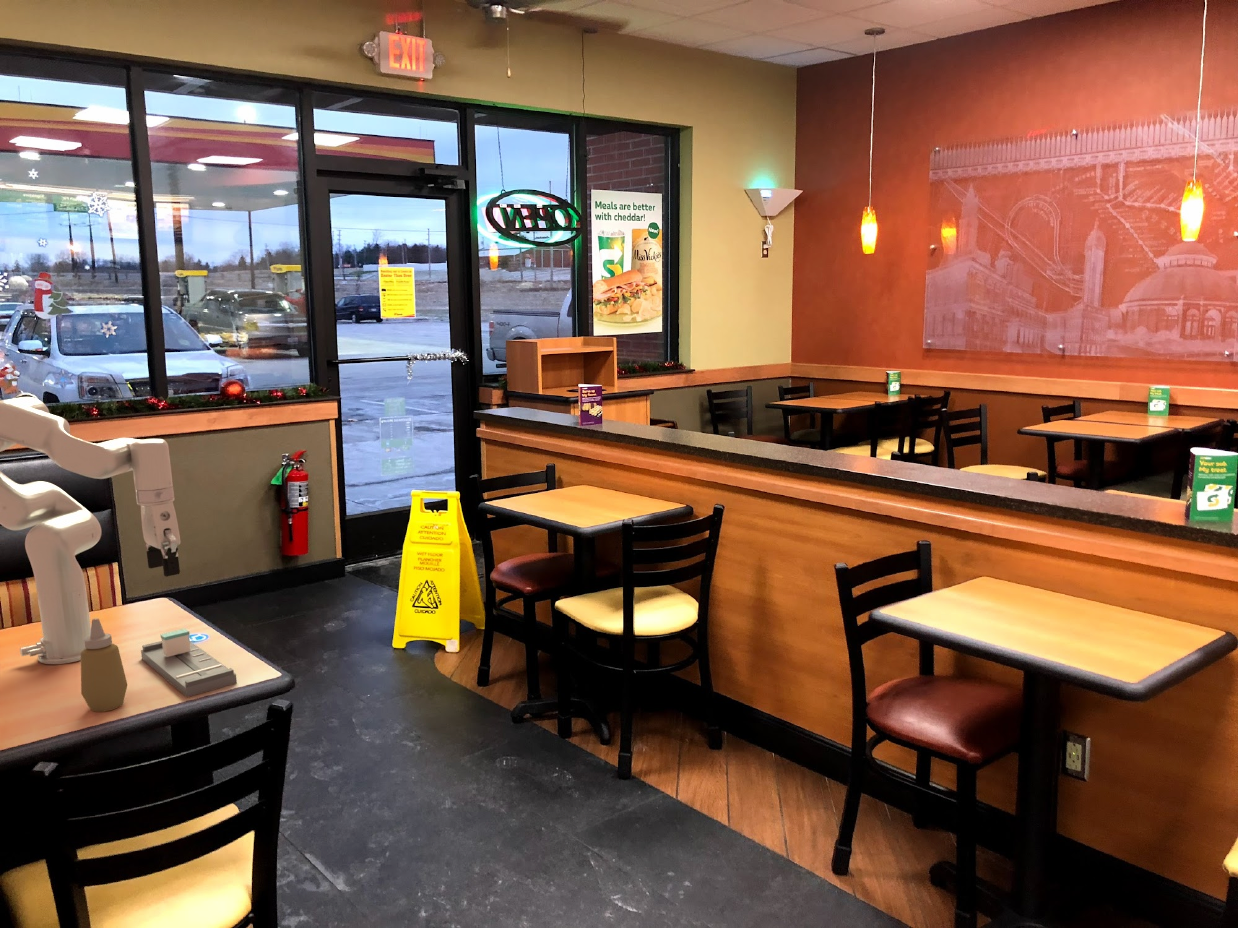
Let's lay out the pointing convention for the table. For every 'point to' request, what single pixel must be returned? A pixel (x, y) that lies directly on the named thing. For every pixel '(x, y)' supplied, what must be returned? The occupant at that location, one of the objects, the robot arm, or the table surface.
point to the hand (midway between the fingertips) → (164, 570)
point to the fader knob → (175, 642)
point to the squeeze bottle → (102, 671)
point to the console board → (189, 669)
